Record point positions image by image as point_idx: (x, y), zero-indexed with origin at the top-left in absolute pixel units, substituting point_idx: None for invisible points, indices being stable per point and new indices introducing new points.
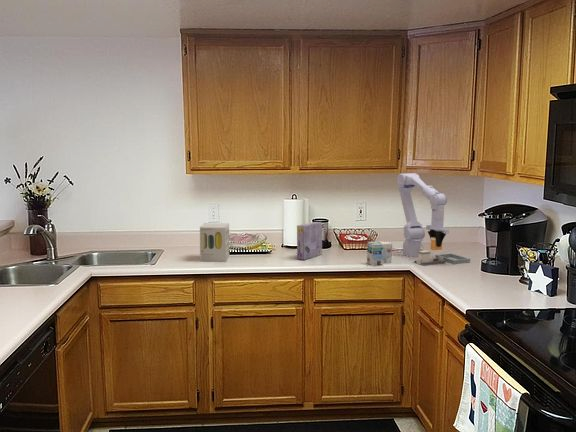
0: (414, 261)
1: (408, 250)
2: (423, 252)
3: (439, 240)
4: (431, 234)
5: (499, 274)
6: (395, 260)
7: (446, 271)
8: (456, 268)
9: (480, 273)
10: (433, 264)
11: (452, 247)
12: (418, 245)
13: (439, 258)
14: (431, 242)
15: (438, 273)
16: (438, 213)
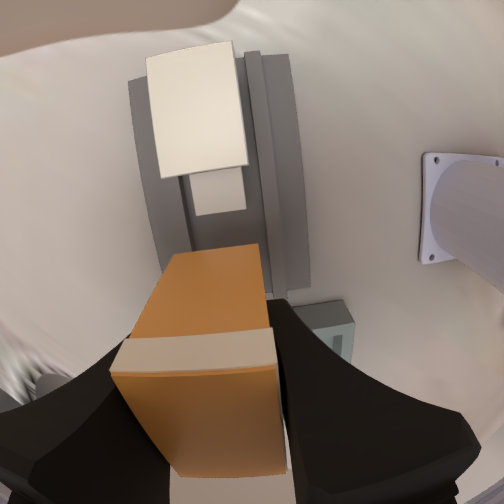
0: (258, 52)
1: (495, 167)
2: (147, 74)
3: None
4: (295, 440)
5: (21, 379)
6: (422, 34)
7: (32, 201)
8: (93, 302)
9: (18, 336)
10: (153, 182)
11: None
12: (491, 246)
13: None
14: (243, 294)
15: (7, 132)
16: None
